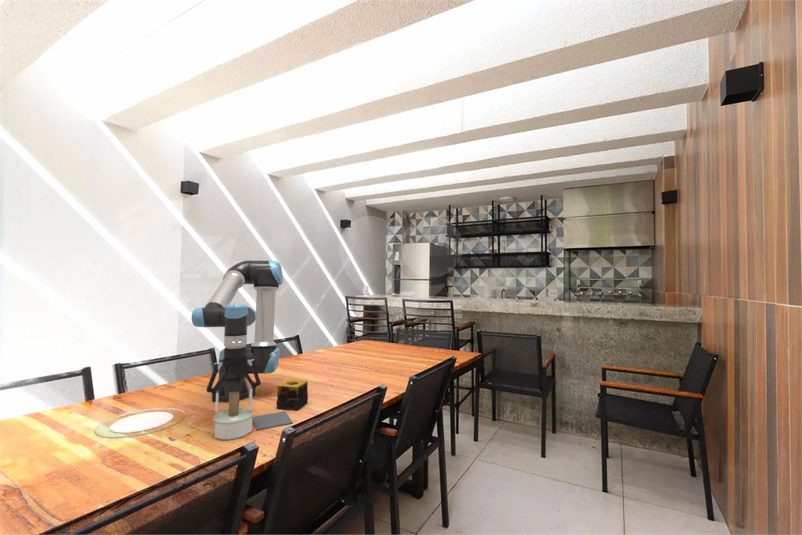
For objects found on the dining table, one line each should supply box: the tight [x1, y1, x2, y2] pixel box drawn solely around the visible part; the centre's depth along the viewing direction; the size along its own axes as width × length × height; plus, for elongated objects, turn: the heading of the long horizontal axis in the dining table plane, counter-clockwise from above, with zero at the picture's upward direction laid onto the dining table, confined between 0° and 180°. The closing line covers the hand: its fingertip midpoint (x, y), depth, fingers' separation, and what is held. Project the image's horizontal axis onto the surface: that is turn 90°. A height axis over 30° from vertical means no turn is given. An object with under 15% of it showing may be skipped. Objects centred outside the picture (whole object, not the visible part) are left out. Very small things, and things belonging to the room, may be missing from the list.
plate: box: [94, 407, 186, 439], centre depth 136 cm, size 28×28×1 cm
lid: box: [212, 391, 254, 424], centre depth 128 cm, size 13×13×9 cm
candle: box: [275, 379, 309, 411], centre depth 155 cm, size 10×10×10 cm
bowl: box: [213, 416, 253, 441], centre depth 127 cm, size 12×12×6 cm
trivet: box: [252, 410, 294, 432], centre depth 138 cm, size 13×13×1 cm
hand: (233, 408), depth 128 cm, fingers open, 10 cm apart
